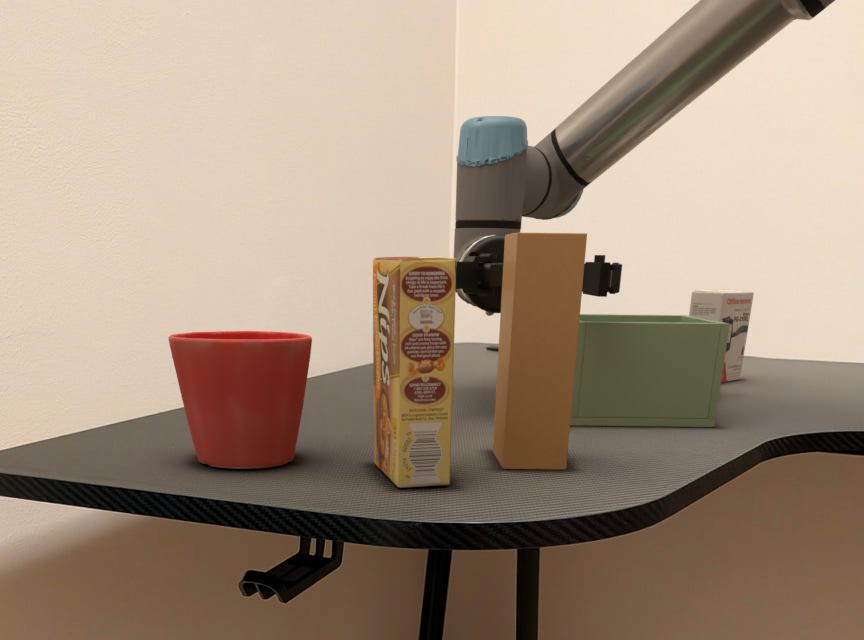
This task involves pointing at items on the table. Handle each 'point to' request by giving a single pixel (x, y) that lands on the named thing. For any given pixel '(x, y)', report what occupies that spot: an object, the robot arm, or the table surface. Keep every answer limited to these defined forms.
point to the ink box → (728, 310)
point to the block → (537, 348)
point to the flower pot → (242, 394)
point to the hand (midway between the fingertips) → (524, 278)
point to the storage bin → (648, 370)
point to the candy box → (413, 368)
